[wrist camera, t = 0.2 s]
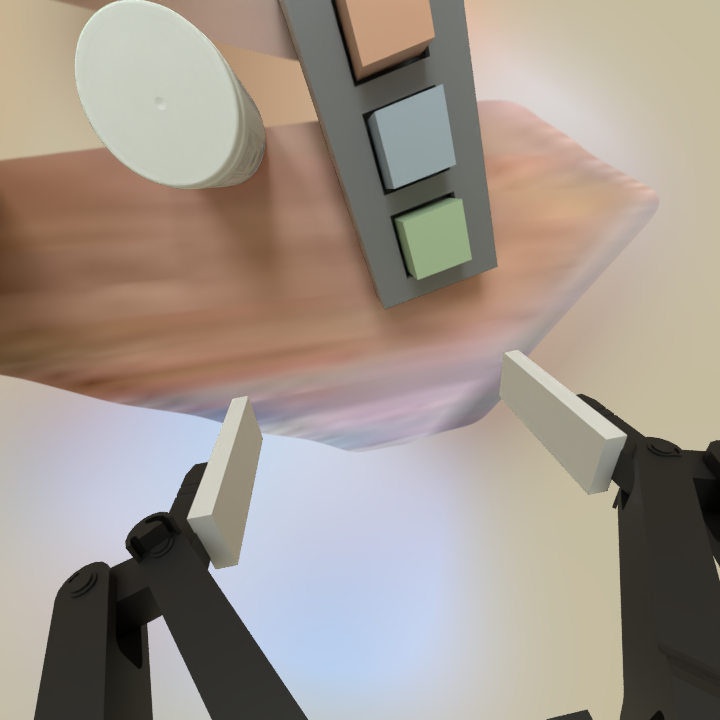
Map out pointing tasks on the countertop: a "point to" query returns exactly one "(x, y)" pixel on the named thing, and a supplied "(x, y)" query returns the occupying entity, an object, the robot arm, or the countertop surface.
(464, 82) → the console
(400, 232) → the green button
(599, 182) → the countertop surface
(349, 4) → the terracotta button
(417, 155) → the slate button
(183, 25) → the supplement tub
